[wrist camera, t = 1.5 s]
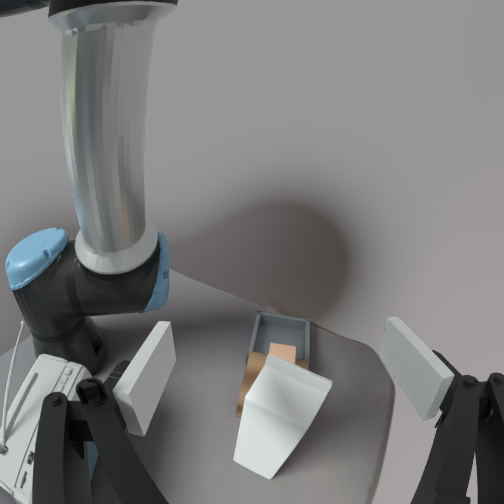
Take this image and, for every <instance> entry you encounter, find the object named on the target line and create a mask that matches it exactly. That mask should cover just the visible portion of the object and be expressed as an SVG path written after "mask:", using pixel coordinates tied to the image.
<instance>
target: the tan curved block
mask: <svg viewBox="0 0 504 504" xmlns="http://www.w3.org/2000/svg"><path fill="white" fill-rule="evenodd" d="M267 355H268V354H263V353H258V352H252V351H250V353H249V358H248V362H247V366H246V370H245V375H244V379H243V383H242V387H241V391H240V396H239V400H238V404H237V410H236V417H239V418H241V417H242V411H243V406H244V400H245V396H246V395H247V393H248V391H249V390H250V388H251V387H252V385H253V383H254V382H255V380H256V378H257V377H258V375H259V374H260V372H261V370H262V369H263V367H264V365H265V361H266V357H267ZM295 365H298V366H300V367H302V368H304V369H306V370H308V367H309V360H302V359H295Z"/></svg>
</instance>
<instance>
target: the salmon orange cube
mask: <svg viewBox="0 0 504 504" xmlns="http://www.w3.org/2000/svg"><path fill="white" fill-rule="evenodd" d="M268 355H273V356H275V357H277V356H278V357H280V358H283V359H285V360H287V361H289V362H291V363H293V364H295V355H296V346H289V345H283V344H277V343H270V348H269V352H268Z"/></svg>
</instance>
